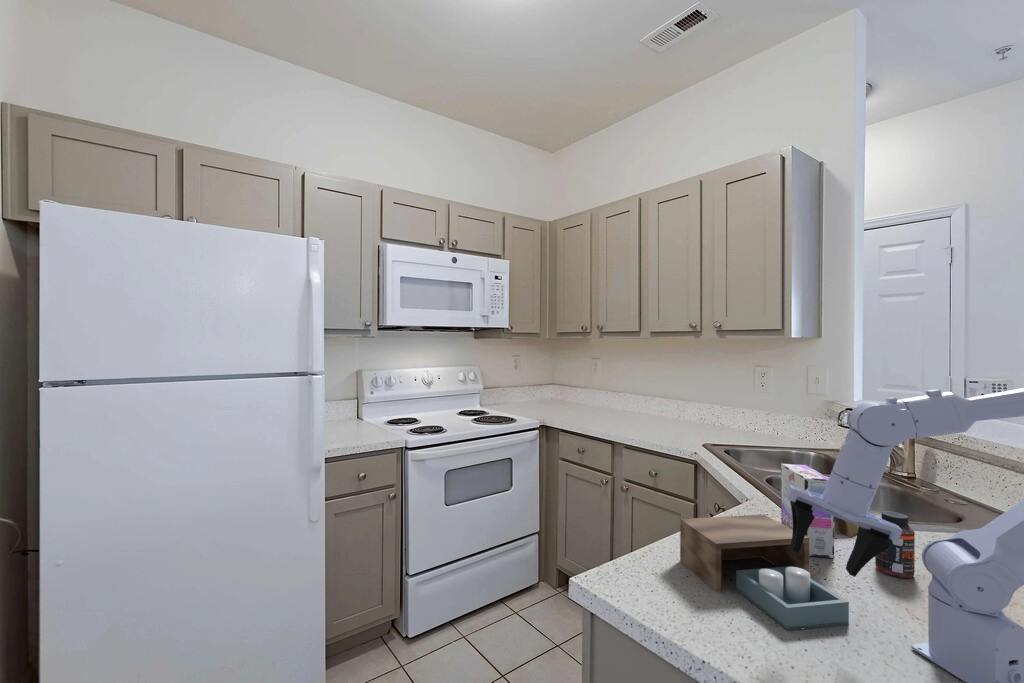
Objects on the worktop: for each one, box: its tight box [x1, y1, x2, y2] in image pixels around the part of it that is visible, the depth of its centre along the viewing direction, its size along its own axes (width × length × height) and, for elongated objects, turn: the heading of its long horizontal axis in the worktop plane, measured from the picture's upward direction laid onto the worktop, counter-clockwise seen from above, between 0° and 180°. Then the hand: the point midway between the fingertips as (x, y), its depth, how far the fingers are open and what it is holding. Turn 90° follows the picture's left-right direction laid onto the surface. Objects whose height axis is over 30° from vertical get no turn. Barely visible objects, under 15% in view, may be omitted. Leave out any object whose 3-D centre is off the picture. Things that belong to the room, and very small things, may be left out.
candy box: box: [780, 463, 835, 559], centre depth 102 cm, size 14×6×16 cm, turn 168°
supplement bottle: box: [874, 510, 916, 579], centre depth 89 cm, size 6×6×11 cm
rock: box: [834, 516, 859, 538], centre depth 111 cm, size 11×9×10 cm
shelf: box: [679, 513, 810, 593], centre depth 89 cm, size 12×19×8 cm, turn 100°
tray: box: [735, 566, 850, 631], centre depth 77 cm, size 12×11×5 cm
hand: (821, 560), depth 70 cm, fingers open, 7 cm apart
